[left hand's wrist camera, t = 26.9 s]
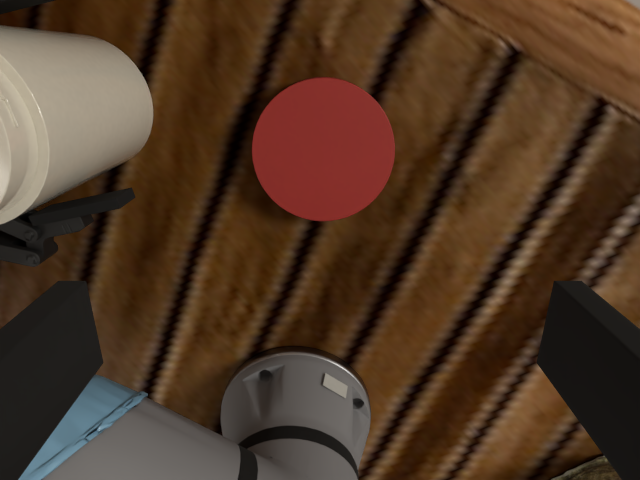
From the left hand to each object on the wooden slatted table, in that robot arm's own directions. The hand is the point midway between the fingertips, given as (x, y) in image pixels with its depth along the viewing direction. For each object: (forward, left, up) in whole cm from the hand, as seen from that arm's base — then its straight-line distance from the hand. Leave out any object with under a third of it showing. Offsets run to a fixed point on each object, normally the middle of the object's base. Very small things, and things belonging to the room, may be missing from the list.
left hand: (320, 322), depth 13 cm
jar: (-3, +19, -26) cm, 32 cm away
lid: (0, 0, -24) cm, 24 cm away
